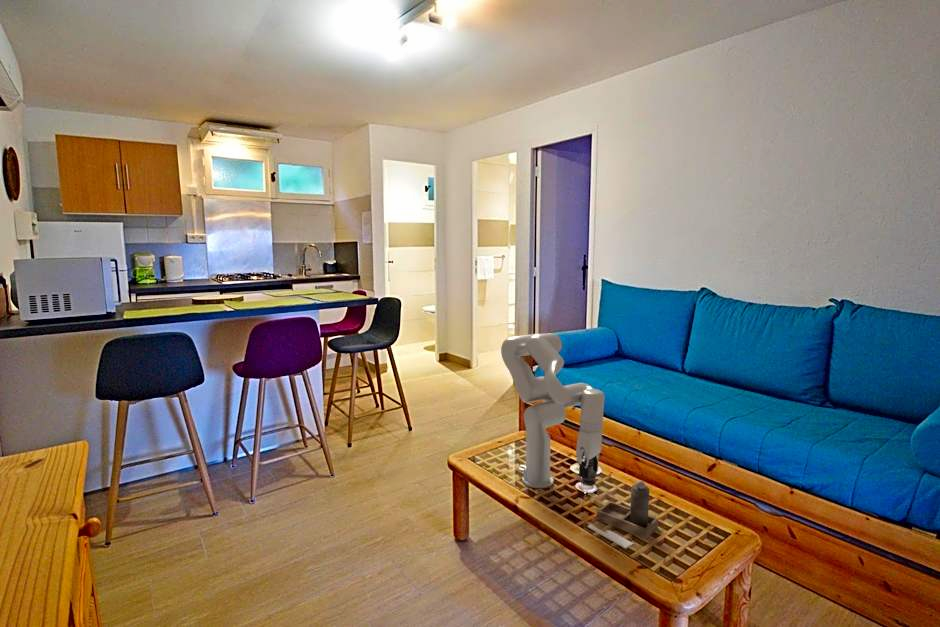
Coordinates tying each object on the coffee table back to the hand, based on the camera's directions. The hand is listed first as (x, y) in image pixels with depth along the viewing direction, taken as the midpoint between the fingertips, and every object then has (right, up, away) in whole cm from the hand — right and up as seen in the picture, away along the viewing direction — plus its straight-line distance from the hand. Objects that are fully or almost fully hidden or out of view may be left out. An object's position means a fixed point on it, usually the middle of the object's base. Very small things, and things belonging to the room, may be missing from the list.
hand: (588, 473), depth 171 cm
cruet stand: (+11, -15, -6) cm, 20 cm away
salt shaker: (0, -3, +1) cm, 3 cm away
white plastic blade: (+4, -16, -13) cm, 21 cm away
